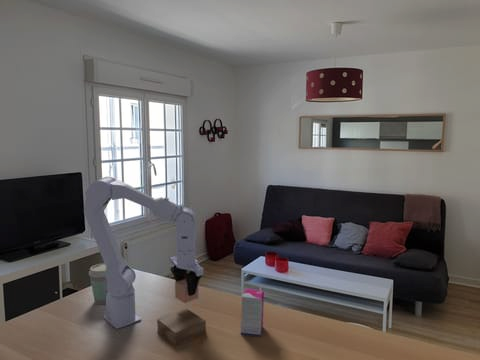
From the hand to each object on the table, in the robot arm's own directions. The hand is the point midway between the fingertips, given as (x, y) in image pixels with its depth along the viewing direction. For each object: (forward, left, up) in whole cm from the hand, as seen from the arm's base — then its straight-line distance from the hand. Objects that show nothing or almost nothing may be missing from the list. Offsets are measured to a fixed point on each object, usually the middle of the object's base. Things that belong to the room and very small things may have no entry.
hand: (186, 291), depth 116 cm
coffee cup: (-30, -14, -9) cm, 34 cm away
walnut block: (+5, -5, -9) cm, 12 cm away
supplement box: (+18, +10, -9) cm, 23 cm away
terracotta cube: (0, 0, -2) cm, 2 cm away
